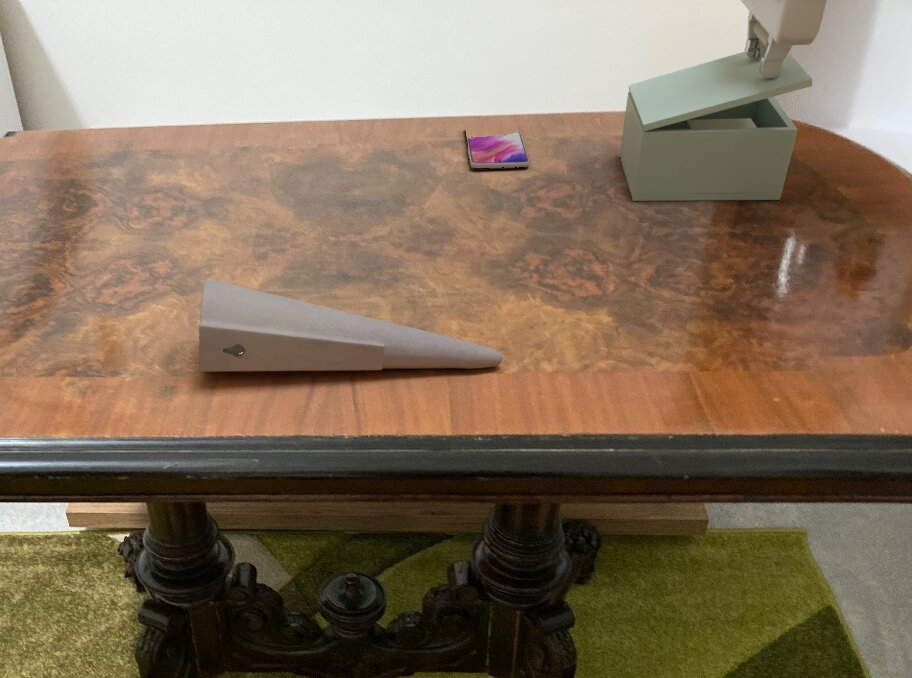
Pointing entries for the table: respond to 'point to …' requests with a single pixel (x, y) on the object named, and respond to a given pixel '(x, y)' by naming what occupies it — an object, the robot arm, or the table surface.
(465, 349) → the grey tapered spike
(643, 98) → the shoebox lid
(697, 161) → the shoebox
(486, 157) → the smartphone
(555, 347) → the table surface
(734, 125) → the stepped cream block
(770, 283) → the table surface
